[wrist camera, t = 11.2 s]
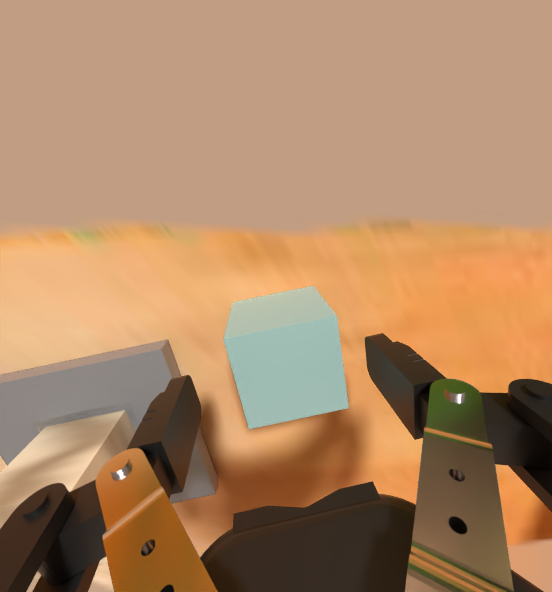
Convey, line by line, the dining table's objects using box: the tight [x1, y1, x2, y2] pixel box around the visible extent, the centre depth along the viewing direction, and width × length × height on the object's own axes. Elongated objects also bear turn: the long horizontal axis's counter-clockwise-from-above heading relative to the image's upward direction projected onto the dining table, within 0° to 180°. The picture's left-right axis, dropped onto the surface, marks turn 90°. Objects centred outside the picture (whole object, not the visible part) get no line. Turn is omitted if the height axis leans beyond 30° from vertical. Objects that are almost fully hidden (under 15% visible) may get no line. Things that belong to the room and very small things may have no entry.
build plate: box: [0, 340, 218, 504], centre depth 18 cm, size 12×12×1 cm
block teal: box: [223, 286, 349, 429], centre depth 14 cm, size 5×5×5 cm
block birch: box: [0, 410, 135, 580], centre depth 15 cm, size 5×5×5 cm
